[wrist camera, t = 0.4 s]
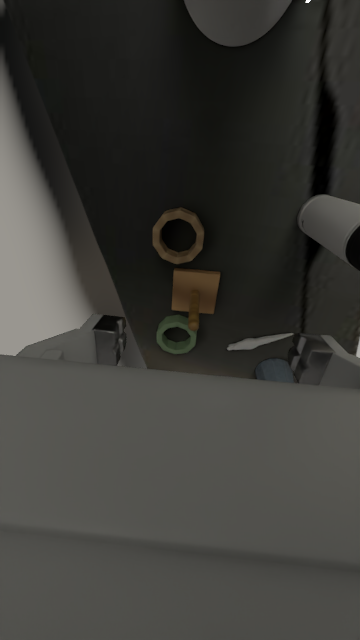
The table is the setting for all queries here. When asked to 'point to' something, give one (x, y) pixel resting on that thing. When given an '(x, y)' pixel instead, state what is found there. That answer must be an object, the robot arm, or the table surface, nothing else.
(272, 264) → the table surface
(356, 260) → the travel mug
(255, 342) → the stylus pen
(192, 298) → the peg stand
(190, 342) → the sage ring
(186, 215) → the birch ring
